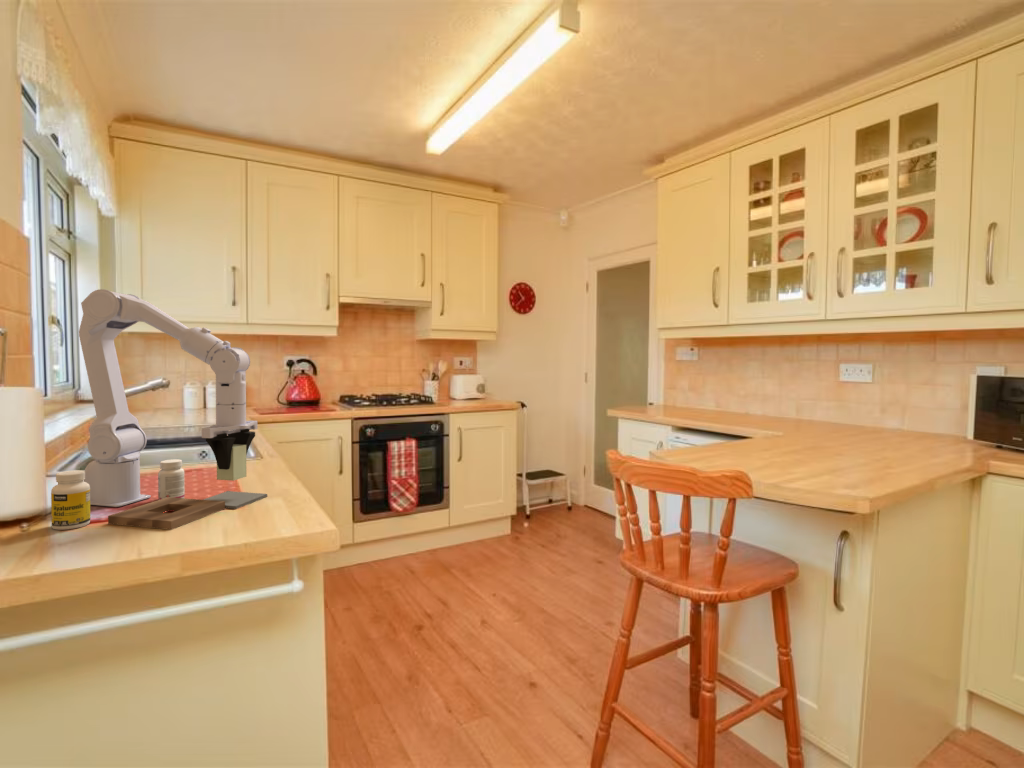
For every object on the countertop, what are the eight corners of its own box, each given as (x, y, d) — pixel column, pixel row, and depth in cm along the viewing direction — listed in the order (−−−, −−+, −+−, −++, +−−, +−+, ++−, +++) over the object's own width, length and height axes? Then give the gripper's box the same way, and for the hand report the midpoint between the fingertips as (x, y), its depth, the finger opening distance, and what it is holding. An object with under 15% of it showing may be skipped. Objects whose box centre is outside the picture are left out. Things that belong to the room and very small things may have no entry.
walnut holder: (108, 523, 96) (108, 515, 96) (168, 504, 109) (168, 497, 109) (171, 529, 93) (171, 521, 93) (225, 508, 106) (225, 501, 106)
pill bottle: (189, 497, 115) (189, 459, 114) (173, 503, 110) (173, 463, 109) (169, 496, 115) (169, 458, 115) (152, 501, 110) (152, 462, 110)
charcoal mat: (193, 505, 108) (193, 502, 108) (227, 493, 118) (227, 491, 118) (236, 509, 106) (236, 506, 106) (267, 496, 116) (267, 493, 116)
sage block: (216, 479, 110) (216, 446, 110) (230, 475, 114) (229, 443, 114) (233, 480, 110) (233, 447, 109) (246, 476, 113) (246, 444, 113)
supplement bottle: (47, 532, 91) (45, 476, 90) (57, 523, 95) (55, 470, 95) (86, 528, 93) (85, 474, 93) (94, 519, 98) (93, 468, 97)
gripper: (223, 407, 103) (223, 475, 104) (269, 401, 118) (269, 461, 118) (192, 406, 105) (192, 473, 105) (241, 400, 119) (242, 459, 119)
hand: (231, 466), depth 112 cm, fingers closed on sage block, 4 cm apart
